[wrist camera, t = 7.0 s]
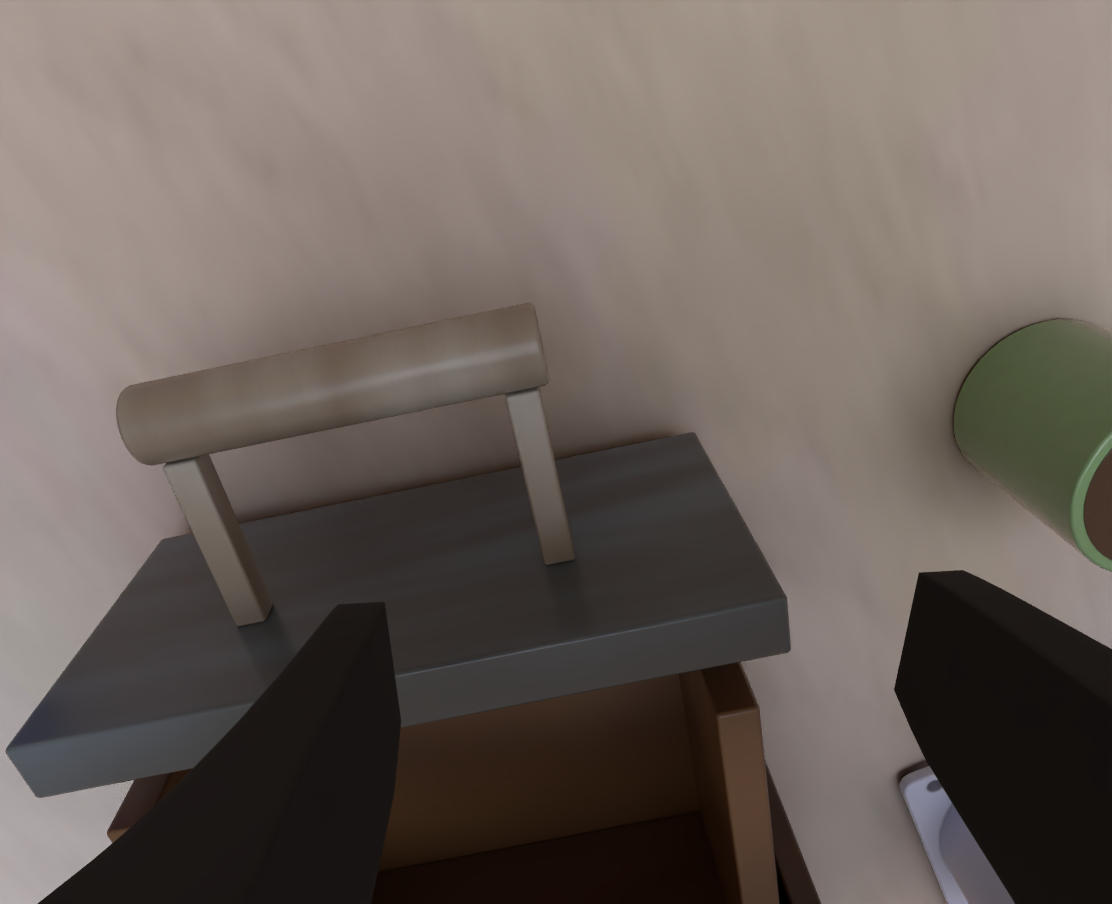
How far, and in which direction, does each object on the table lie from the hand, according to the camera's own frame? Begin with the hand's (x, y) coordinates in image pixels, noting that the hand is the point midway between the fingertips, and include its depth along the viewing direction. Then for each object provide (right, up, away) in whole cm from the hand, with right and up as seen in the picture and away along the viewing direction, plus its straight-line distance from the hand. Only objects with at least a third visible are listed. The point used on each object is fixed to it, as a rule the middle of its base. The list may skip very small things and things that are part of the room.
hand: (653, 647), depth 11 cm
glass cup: (+11, +4, +9) cm, 15 cm away
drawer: (-4, -1, +10) cm, 11 cm away
